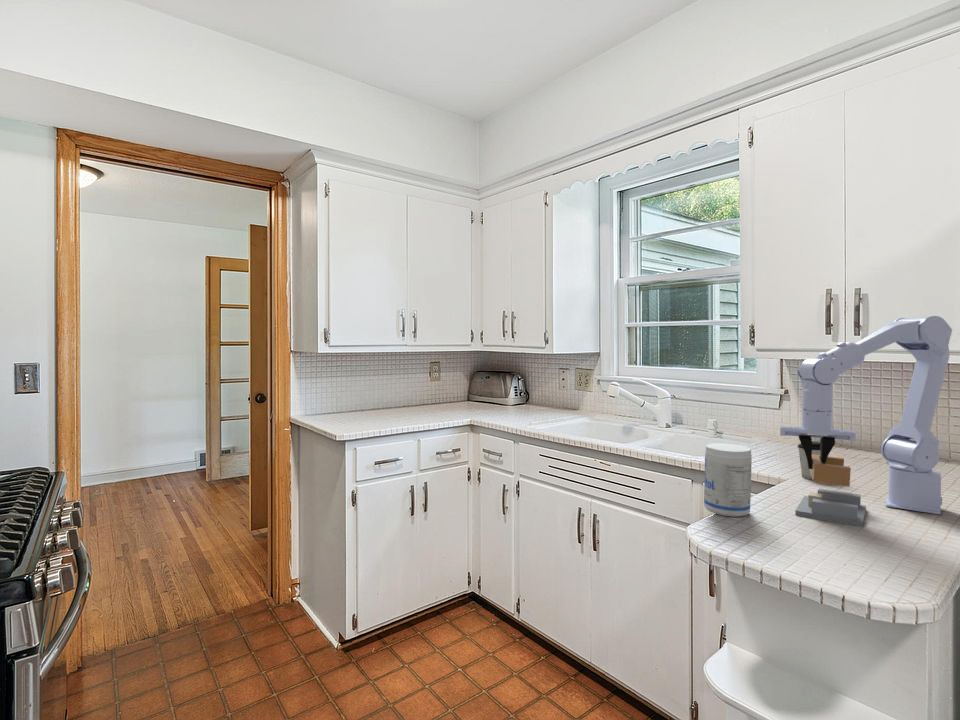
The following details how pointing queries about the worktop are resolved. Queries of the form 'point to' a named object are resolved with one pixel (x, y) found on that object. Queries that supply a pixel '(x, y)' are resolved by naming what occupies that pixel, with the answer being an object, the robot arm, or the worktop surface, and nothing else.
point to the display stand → (833, 507)
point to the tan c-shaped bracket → (830, 471)
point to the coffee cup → (803, 458)
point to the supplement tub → (727, 479)
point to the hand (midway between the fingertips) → (815, 468)
